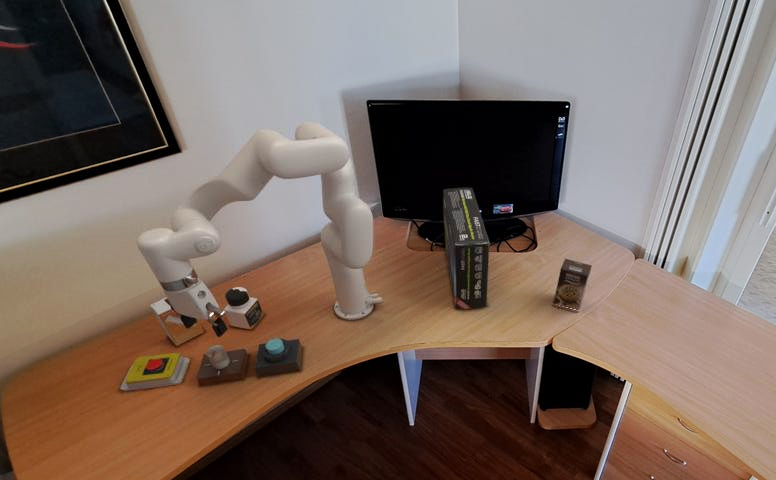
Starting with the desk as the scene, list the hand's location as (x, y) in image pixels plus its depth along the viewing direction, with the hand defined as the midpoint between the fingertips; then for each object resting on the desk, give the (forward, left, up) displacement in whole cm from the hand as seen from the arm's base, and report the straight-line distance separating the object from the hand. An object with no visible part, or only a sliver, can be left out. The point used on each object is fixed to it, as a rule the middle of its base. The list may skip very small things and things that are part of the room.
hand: (207, 329), depth 115 cm
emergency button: (+19, -2, -16) cm, 25 cm away
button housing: (-14, 0, -16) cm, 21 cm away
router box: (-74, -29, -16) cm, 81 cm away
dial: (+1, 0, -13) cm, 13 cm away
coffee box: (-106, -8, -16) cm, 108 cm away
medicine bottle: (-2, -20, -16) cm, 26 cm away
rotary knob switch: (+1, 0, -16) cm, 16 cm away
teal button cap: (-14, 0, -11) cm, 18 cm away
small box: (+15, -17, -16) cm, 28 cm away
